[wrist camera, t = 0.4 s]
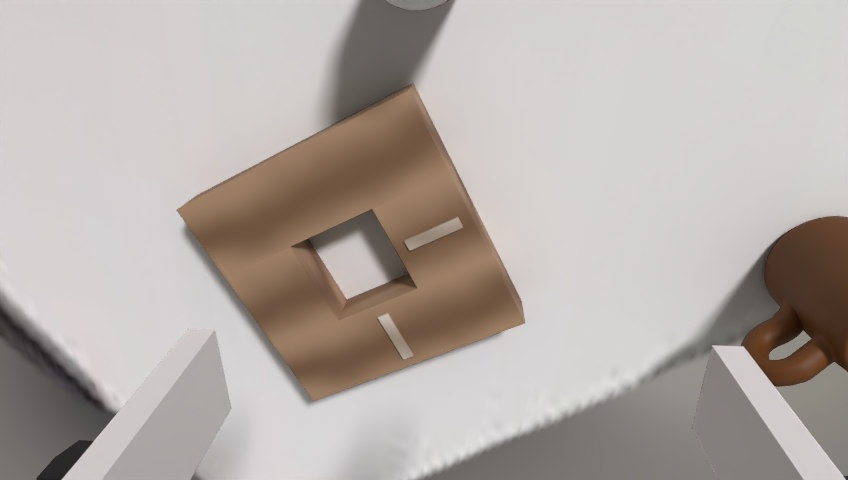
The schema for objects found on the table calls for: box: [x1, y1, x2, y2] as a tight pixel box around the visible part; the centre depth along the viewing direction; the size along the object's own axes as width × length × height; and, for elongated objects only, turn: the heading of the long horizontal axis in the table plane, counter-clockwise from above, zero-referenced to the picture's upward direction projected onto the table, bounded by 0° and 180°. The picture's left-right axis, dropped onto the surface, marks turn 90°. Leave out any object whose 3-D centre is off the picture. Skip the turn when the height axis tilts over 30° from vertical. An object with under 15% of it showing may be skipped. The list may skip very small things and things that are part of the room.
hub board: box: [177, 84, 525, 401], centre depth 39 cm, size 18×18×3 cm
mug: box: [741, 216, 848, 387], centre depth 34 cm, size 12×8×9 cm, turn 121°
